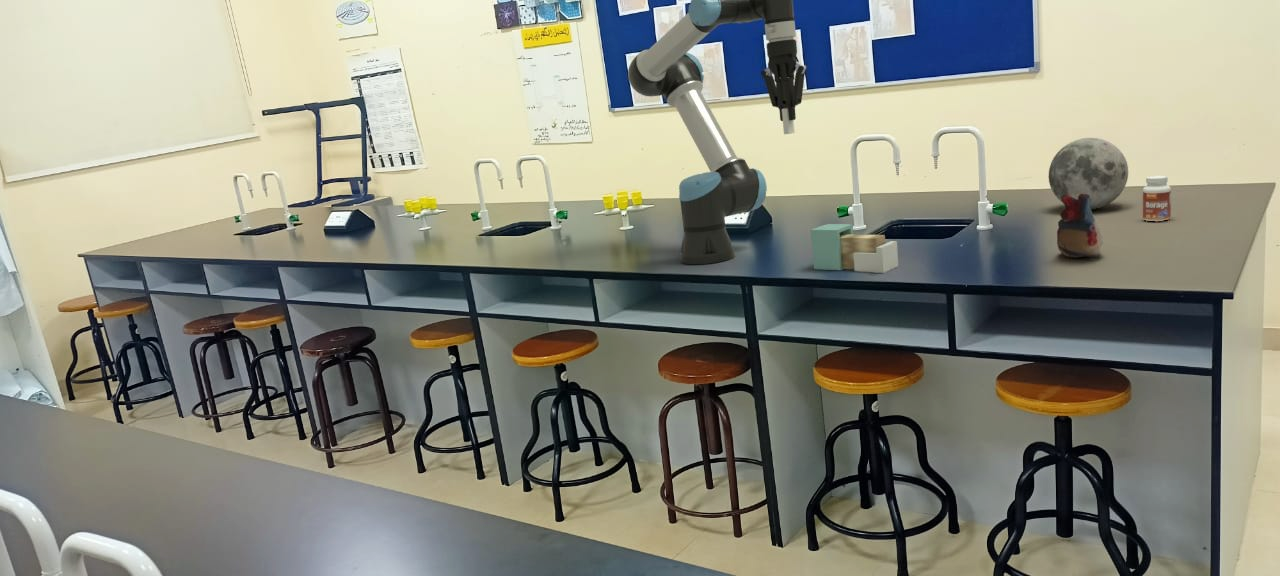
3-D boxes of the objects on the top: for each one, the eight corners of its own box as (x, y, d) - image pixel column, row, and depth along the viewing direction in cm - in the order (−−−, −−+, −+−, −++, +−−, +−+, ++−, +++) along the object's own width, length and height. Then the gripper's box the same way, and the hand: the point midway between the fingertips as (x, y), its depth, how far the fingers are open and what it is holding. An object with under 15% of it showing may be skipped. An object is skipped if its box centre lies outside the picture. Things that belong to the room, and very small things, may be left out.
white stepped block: (854, 271, 218) (852, 246, 217) (869, 264, 223) (868, 240, 222) (883, 273, 213) (881, 247, 212) (898, 266, 218) (896, 241, 217)
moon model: (1070, 202, 272) (1068, 134, 268) (1141, 203, 256) (1140, 132, 252) (1036, 214, 260) (1033, 144, 256) (1108, 216, 244) (1107, 141, 240)
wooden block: (827, 269, 225) (824, 237, 223) (835, 265, 228) (833, 234, 226) (878, 271, 215) (876, 238, 214) (886, 268, 218) (884, 235, 217)
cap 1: (814, 269, 225) (810, 229, 223) (829, 262, 231) (826, 224, 229) (840, 270, 221) (836, 230, 218) (855, 263, 226) (852, 224, 224)
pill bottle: (1142, 223, 232) (1142, 179, 229) (1142, 218, 237) (1142, 175, 234) (1171, 222, 229) (1171, 177, 226) (1170, 217, 234) (1170, 174, 231)
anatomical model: (1105, 250, 208) (1104, 184, 204) (1100, 263, 197) (1099, 193, 194) (1060, 251, 212) (1058, 187, 209) (1053, 263, 202) (1051, 196, 199)
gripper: (751, 44, 235) (760, 136, 240) (794, 37, 226) (803, 133, 231) (768, 42, 240) (776, 133, 245) (811, 36, 231) (818, 130, 236)
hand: (789, 133), depth 238 cm, fingers closed
